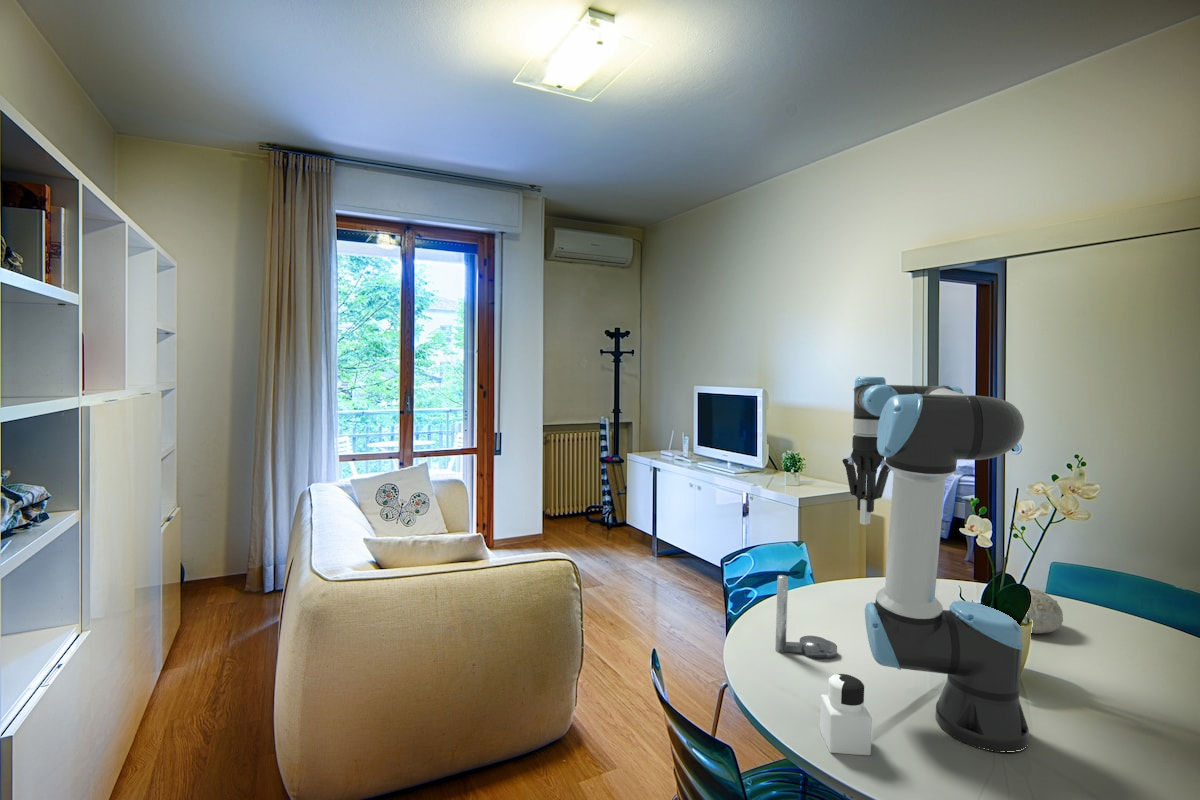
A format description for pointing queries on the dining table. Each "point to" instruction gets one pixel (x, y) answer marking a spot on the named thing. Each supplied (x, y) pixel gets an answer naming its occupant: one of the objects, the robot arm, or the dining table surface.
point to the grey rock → (1044, 612)
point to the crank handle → (807, 644)
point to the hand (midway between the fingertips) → (864, 523)
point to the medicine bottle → (845, 717)
